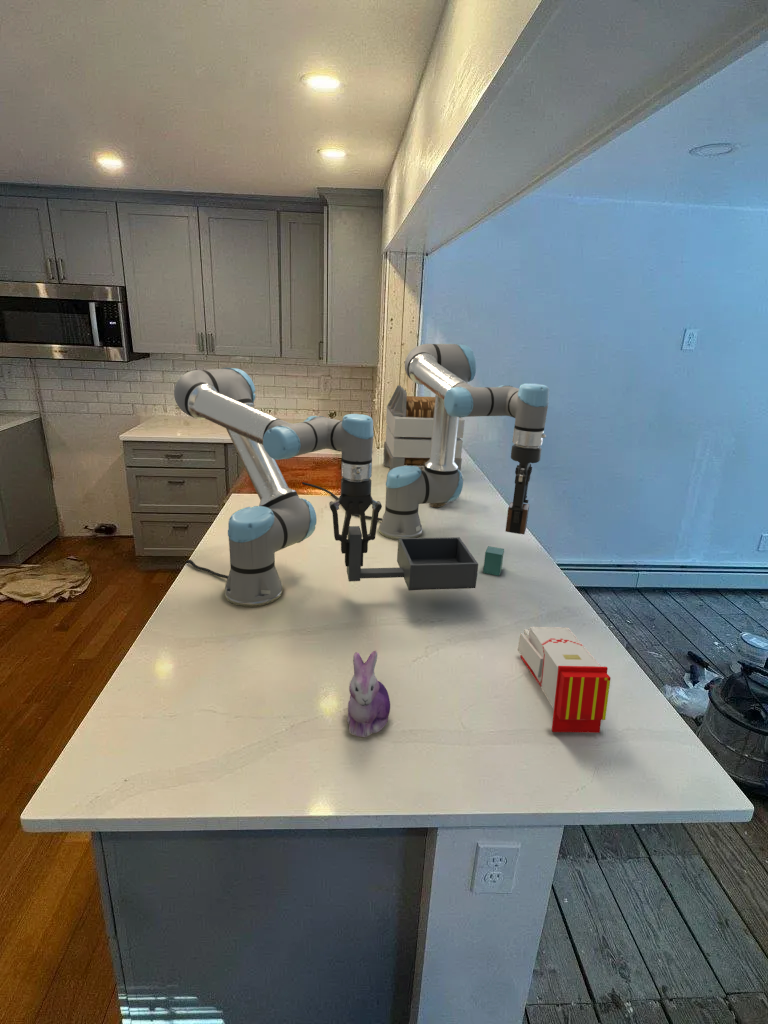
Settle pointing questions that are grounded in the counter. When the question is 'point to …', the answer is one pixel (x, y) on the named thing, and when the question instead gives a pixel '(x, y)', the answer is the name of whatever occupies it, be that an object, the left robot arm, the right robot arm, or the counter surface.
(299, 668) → the counter surface
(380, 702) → the figurine
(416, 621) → the counter surface
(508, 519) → the walnut block
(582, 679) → the toy
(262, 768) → the counter surface
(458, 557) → the box
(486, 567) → the teal block
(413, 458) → the grey slatted crate
